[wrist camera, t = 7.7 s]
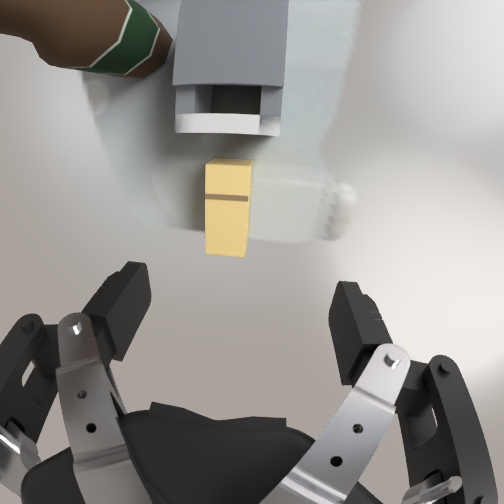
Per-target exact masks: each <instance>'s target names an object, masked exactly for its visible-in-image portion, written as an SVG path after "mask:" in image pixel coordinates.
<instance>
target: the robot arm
mask: <svg viewBox="0 0 504 504" xmlns="http://www.w3.org/2000/svg"><path fill="white" fill-rule="evenodd" d="M150 302H151V289H150V283H149V276H148V270H147V266H146V264H145V263H140V262H131V261H129V262H127V263H126V265H125V266H124V267H123V268H122V270H121V271H120V272H118V271H117V272H115V273H114V274H112V275H111V276H109V277H108V278H107V279H106V280H105V281H104V283H103V284H102V286H101V287H100V288H99V289H98V290H97V292H96V293H95V294H94V296H93V297H92V298H91V300H90V301H89V302H88V303H87V305H86V306H85V308H84V309H83V310H82V312H81V313H72V314H69V315H67V316H66V317H64V318H63V319H62V320H61V321H60V322H59V324H56V325H44V323H43V321H42V319H41V317H40V316H39V315H37V314H27V315H24V316H23V317H21V318H20V319H19V320H18V321H17V322H16V323H15V325H14V326H13V327H12V329H11V330H10V332H9V333H8V335H7V336H6V337H5V339H4V340H3V341H2V343H1V344H0V483H1V484H3V485H4V486H5V487H7V488H8V489H10V490H11V491H12V492H14V493H15V494H17V495H18V496H20V497H21V501H22V504H383V503H382V502H381V501H379V500H378V499H377V498H376V497H375V496H374V495H372V494H371V493H370V492H369V491H368V490H367V489H366V488H365V487H364V486H363V485H361V484H360V483H359V482H358V479H359V478H360V476H361V474H362V473H363V471H364V470H365V468H366V466H367V465H368V463H369V461H370V460H371V458H372V456H373V454H374V453H375V451H376V449H377V447H378V445H379V443H380V441H381V439H382V438H383V436H384V434H385V432H386V430H387V428H388V426H389V424H390V421H391V419H392V417H393V415H394V413H396V414H398V418H399V423H400V428H401V433H402V439H403V444H404V450H405V456H406V462H407V468H408V476H409V484H410V489H408V490H407V492H406V493H405V495H404V497H403V500H402V503H401V504H497V503H498V494H497V488H496V483H495V478H494V473H493V468H492V464H491V460H490V456H489V452H488V448H487V445H486V441H485V438H484V434H483V431H482V428H481V425H480V422H479V419H478V416H477V413H476V410H475V408H474V405H473V402H472V400H471V397H470V394H469V392H468V389H467V387H466V384H465V382H464V379H463V377H462V375H461V372H460V370H459V368H458V366H457V364H456V363H455V362H454V361H453V360H452V359H451V358H449V357H447V356H444V355H436V356H434V357H433V358H432V359H431V361H430V362H429V363H428V364H426V363H421V362H417V361H412V360H410V357H409V355H408V354H407V352H406V351H405V350H404V349H403V348H401V347H399V346H397V345H394V344H393V342H392V340H391V337H390V335H389V333H388V330H387V328H386V326H385V324H384V321H383V320H382V317H381V314H380V313H379V310H378V308H377V306H376V304H375V302H374V301H373V300H372V299H371V298H370V297H369V296H368V295H366V294H362V292H361V290H360V288H359V285H358V283H357V282H347V281H339V282H338V284H337V287H336V290H335V293H334V297H333V300H332V304H331V307H330V310H329V327H330V331H331V336H332V340H333V344H334V349H335V354H336V359H337V363H338V368H339V373H340V378H341V383H342V385H352V390H351V392H350V394H349V395H348V397H347V398H346V400H345V401H344V403H343V404H342V406H341V407H340V409H339V410H338V411H337V413H336V414H335V416H334V417H333V419H332V420H331V421H330V423H329V424H328V426H327V427H326V429H325V430H324V431H323V432H322V434H321V435H320V436H319V437H318V439H317V440H314V439H313V438H312V437H310V436H309V435H307V434H305V433H303V432H301V431H299V430H296V429H293V428H290V427H286V418H271V417H245V418H237V419H228V420H213V419H210V418H207V417H205V416H202V415H199V414H197V413H194V412H192V411H189V410H187V409H185V408H181V407H176V406H170V405H165V404H160V403H156V402H152V403H151V406H150V409H149V410H142V411H135V412H131V413H127V411H126V409H125V407H124V405H123V402H122V400H121V397H120V394H119V391H118V388H117V386H116V383H115V380H114V377H113V374H112V371H111V368H110V366H109V364H110V362H111V360H112V359H114V360H117V361H122V360H123V358H124V356H125V354H126V352H127V350H128V348H129V346H130V344H131V342H132V340H133V338H134V336H135V333H136V331H137V329H138V327H139V325H140V324H141V321H142V320H143V318H144V316H145V314H146V312H147V310H148V308H149V306H150ZM30 361H32V363H33V364H34V366H35V367H34V369H33V370H32V372H31V374H30V376H29V378H28V380H27V382H26V384H25V385H24V387H23V385H22V376H23V374H24V372H25V370H26V369H27V367H28V365H29V363H30ZM57 392H59V398H60V404H61V409H62V414H63V419H64V423H65V427H66V431H67V435H68V439H69V443H70V447H68V448H66V449H65V450H63V451H61V452H59V453H58V454H56V455H54V456H52V457H50V458H48V459H46V460H44V461H43V462H41V459H40V457H39V456H38V450H37V446H36V443H37V441H38V438H39V435H40V433H41V430H42V427H43V425H44V423H45V420H46V418H47V415H48V413H49V410H50V408H51V406H52V404H53V401H54V399H55V397H56V394H57ZM432 408H433V410H434V413H435V416H436V420H437V427H436V423H435V419H434V416H433V412H432Z"/></svg>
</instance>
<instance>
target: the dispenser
mask: <svg viewBox="0 0 504 504" xmlns="http://www.w3.org/2000/svg"><path fill="white" fill-rule="evenodd" d="M288 1H289V0H183V1H181V6H180V13H179V20H178V28H177V37H176V46H175V57H174V69H173V84H172V85H174V86H176V103H175V133H237V134H256V135H270V136H279V131H280V118H281V105H282V91H283V86H284V71H285V55H286V38H287V20H288ZM213 85H246V86H262V91H261V106H260V115H249V114H219V113H211V107H212V89H213Z"/></svg>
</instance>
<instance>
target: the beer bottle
mask: <svg viewBox="0 0 504 504" xmlns="http://www.w3.org/2000/svg"><path fill="white" fill-rule="evenodd" d="M0 33H1V34H7V35H12V36H17V37H21V38H23V39H25V40H28V41H30V42H32V43H33V45H34V47H35V49H36V51H37V53H38V54H39V57H40V58H41V59H43V60H44V61H45V62H46V63H48V64H49V65H52V66H56V67H60V68H67V69H75V70H82V71H88V72H95V73H100V74H106V75H111V76H119V77H134V78H145V77H146V76H147V75H149V74H150V73H151V72H153V71H154V70H155V69H157V68H158V67H160V66H161V65H163V64H164V63H165V61H166V58H167V55H168V52H169V49H170V46H171V43H172V40H173V39H172V38H171V36H170V35H169V33H168V32H167V31H166V29H165V28H164V26H163V25H162V23H161V22H160V21H159V20H158V19H157V18H156V17H155V16H153V15H152V14H151V13H149V12H148V11H147V10H146V9H144V8H143V7H142V6H140V5H139V4H138V3H136V2H135V1H134V0H0Z"/></svg>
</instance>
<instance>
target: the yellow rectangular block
mask: <svg viewBox="0 0 504 504" xmlns="http://www.w3.org/2000/svg"><path fill="white" fill-rule="evenodd" d="M252 164H253V160H246V159H226V158H214V159H212V160H211V161H210V162H208V163H207V164H206V169H205V253H206V254H214V255H225V256H237V257H245V254H246V247H247V241H248V228H249V212H250V196H251V180H252Z"/></svg>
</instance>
